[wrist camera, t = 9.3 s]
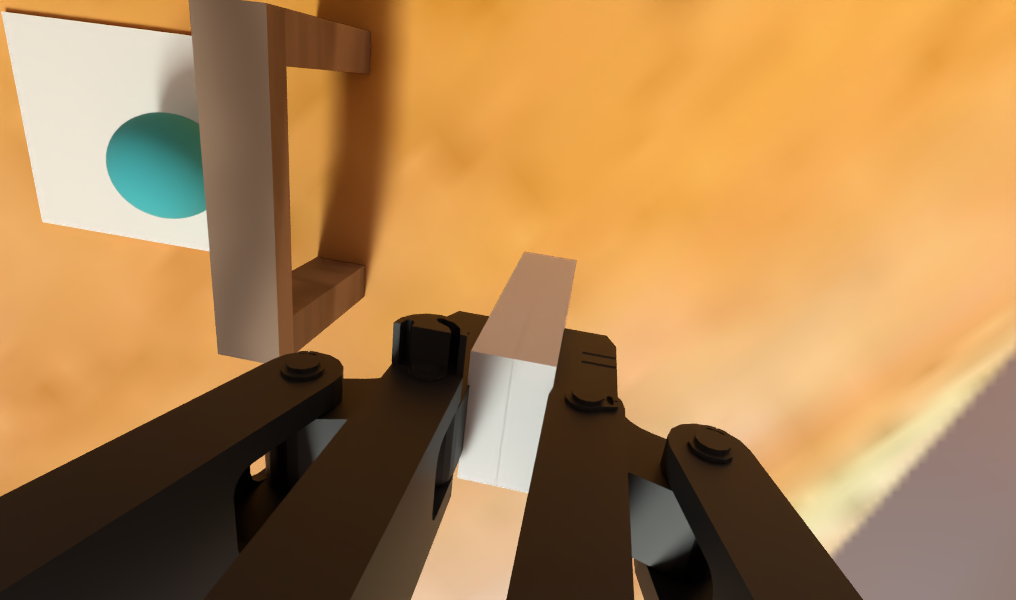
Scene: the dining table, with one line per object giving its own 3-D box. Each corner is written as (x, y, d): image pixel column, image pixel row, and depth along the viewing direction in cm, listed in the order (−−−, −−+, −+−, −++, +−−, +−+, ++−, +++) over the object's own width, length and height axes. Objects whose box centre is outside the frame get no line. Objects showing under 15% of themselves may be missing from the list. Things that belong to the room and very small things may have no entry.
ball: (240, 117, 29) (194, 107, 32) (118, 119, 25) (79, 106, 28) (251, 220, 31) (207, 201, 34) (140, 237, 27) (102, 213, 30)
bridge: (317, 288, 33) (218, 353, 25) (314, 24, 28) (188, -6, 20) (363, 296, 33) (279, 366, 25) (370, 31, 28) (266, 3, 19)
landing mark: (5, 12, 31) (1, 11, 31) (201, 37, 29) (198, 36, 29) (45, 221, 35) (42, 221, 35) (217, 251, 34) (215, 252, 34)
